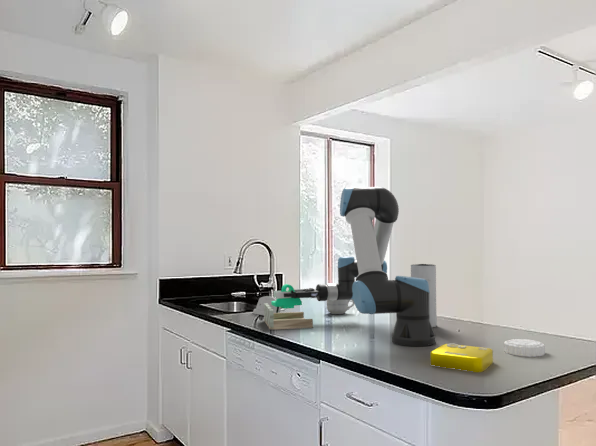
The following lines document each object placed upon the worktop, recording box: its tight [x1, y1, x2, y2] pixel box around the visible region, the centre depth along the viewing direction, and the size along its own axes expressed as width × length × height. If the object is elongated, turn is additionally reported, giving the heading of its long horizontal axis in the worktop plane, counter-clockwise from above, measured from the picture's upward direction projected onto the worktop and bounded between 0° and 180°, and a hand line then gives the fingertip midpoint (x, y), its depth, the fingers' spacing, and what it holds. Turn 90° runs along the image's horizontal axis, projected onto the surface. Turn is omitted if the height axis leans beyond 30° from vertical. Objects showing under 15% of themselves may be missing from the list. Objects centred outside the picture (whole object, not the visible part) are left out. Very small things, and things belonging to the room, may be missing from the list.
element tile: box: [429, 343, 494, 373], centre depth 149 cm, size 15×15×5 cm
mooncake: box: [503, 338, 546, 358], centre depth 162 cm, size 12×12×4 cm
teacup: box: [326, 299, 355, 315], centre depth 249 cm, size 14×11×8 cm
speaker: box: [410, 263, 438, 328], centre depth 212 cm, size 11×10×26 cm
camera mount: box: [271, 283, 303, 310], centre depth 223 cm, size 12×8×10 cm, turn 108°
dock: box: [263, 303, 314, 331], centre depth 221 cm, size 22×18×8 cm
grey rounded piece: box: [252, 295, 282, 316], centre depth 251 cm, size 17×5×10 cm, turn 38°
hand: (274, 294), depth 220 cm, fingers closed on camera mount, 3 cm apart
